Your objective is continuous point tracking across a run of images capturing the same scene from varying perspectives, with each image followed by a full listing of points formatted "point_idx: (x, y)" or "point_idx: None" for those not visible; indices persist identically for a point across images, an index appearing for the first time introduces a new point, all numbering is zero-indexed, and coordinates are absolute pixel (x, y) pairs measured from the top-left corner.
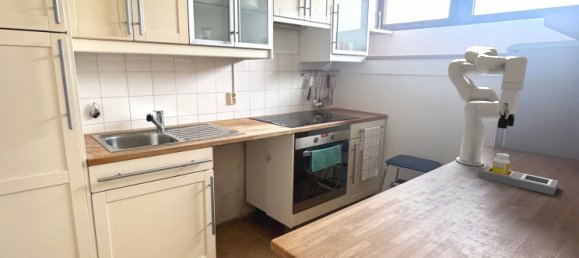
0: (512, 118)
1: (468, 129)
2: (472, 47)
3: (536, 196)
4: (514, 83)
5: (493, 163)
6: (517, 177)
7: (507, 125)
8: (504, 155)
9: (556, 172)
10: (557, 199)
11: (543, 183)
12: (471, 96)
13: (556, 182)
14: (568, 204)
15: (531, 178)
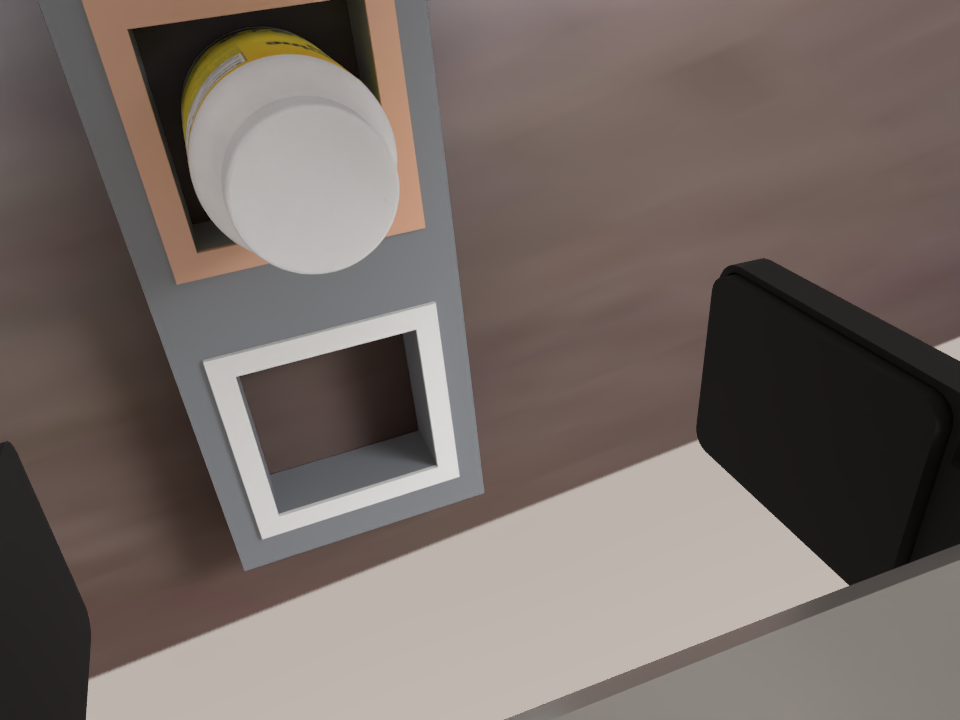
0: (865, 563)
1: None
2: None
3: (64, 505)
4: None
5: (213, 77)
6: (240, 322)
7: (709, 342)
8: (261, 242)
9: (865, 296)
10: (169, 577)
11: (271, 500)
12: None
13: (419, 509)
14: (134, 641)
15: (413, 351)
